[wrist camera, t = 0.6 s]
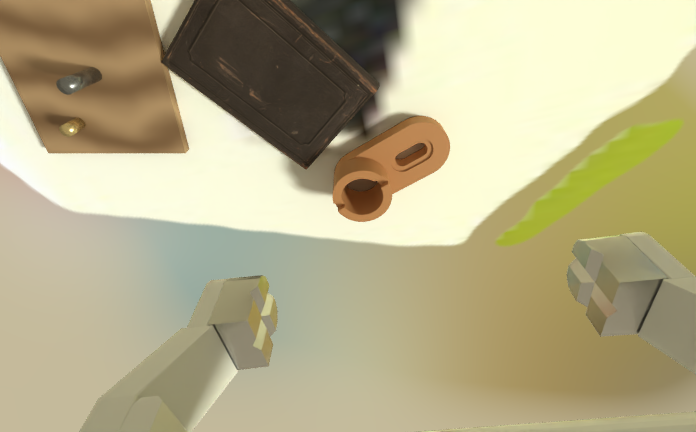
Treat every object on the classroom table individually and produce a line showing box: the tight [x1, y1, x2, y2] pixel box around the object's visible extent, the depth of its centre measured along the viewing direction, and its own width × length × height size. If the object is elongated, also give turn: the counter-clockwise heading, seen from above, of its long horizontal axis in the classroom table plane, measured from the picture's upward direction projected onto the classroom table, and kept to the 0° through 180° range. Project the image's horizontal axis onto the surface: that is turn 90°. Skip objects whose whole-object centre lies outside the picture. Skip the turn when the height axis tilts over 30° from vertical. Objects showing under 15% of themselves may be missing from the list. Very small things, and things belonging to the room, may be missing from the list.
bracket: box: [333, 116, 450, 222], centre depth 53 cm, size 18×8×7 cm, turn 122°
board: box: [0, 0, 189, 153], centre depth 49 cm, size 20×20×2 cm
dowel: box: [59, 118, 86, 137], centre depth 50 cm, size 2×2×3 cm
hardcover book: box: [161, 0, 379, 169], centre depth 48 cm, size 16×23×2 cm
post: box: [56, 67, 102, 95], centre depth 45 cm, size 2×2×6 cm
